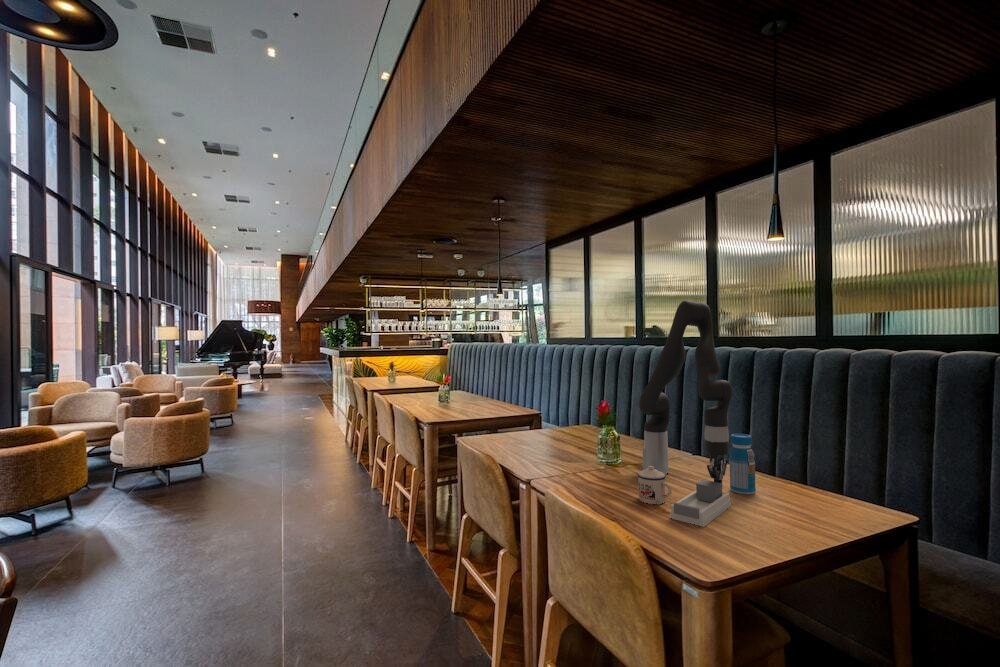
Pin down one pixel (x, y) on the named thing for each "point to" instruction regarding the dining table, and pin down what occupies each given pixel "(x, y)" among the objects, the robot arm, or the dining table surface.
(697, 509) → the slide rail
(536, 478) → the dining table surface
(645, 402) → the robot arm
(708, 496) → the slider block
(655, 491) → the teacup with lid
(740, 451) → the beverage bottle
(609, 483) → the dining table surface
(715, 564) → the dining table surface
